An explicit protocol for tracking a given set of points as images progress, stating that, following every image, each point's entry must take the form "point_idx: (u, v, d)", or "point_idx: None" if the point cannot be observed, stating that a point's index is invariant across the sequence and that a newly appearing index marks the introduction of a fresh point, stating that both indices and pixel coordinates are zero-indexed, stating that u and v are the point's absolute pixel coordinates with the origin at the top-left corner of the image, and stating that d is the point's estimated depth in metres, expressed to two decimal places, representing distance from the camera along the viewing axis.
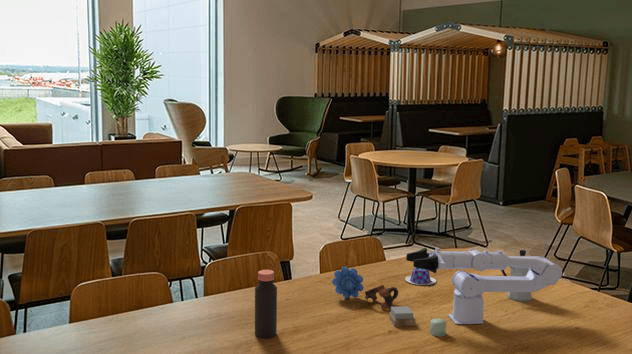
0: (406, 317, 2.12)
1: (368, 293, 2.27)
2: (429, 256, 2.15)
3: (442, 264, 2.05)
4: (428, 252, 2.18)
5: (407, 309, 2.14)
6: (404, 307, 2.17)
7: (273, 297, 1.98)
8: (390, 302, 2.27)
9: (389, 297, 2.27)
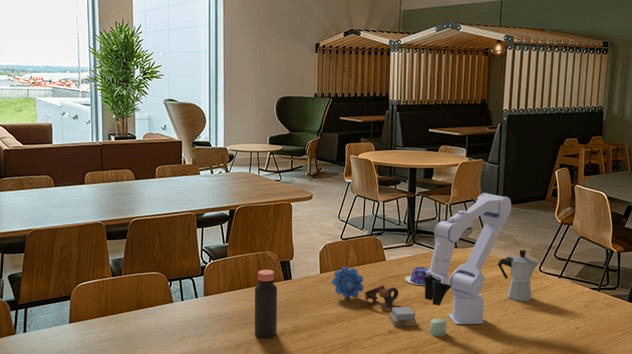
0: (408, 318, 2.11)
1: (368, 293, 2.27)
2: (432, 276, 2.08)
3: (443, 280, 1.97)
4: None
5: (408, 310, 2.14)
6: (405, 307, 2.16)
7: (273, 297, 1.98)
8: (390, 302, 2.26)
9: (389, 297, 2.26)
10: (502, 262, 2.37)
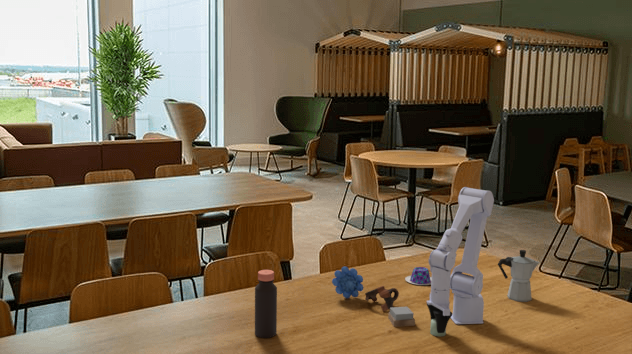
0: (406, 317, 2.11)
1: (368, 294, 2.26)
2: None
3: (445, 312, 1.97)
4: (430, 297, 2.10)
5: (406, 310, 2.14)
6: (403, 307, 2.16)
7: (273, 297, 1.98)
8: (391, 303, 2.25)
9: (390, 298, 2.25)
10: (502, 262, 2.37)
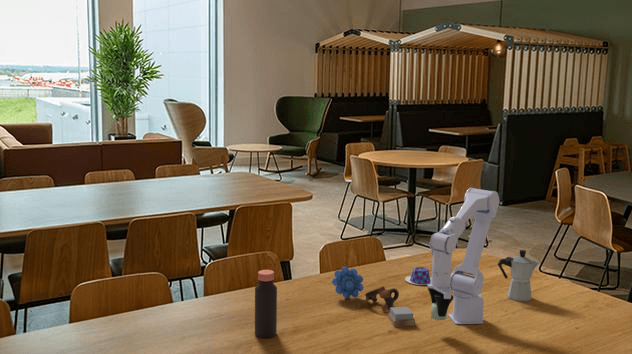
0: (406, 317, 2.12)
1: (369, 295, 2.26)
2: None
3: (446, 295, 1.96)
4: (431, 281, 2.09)
5: (406, 310, 2.14)
6: (403, 307, 2.17)
7: (273, 297, 1.98)
8: (391, 304, 2.25)
9: (390, 299, 2.25)
10: (502, 262, 2.37)
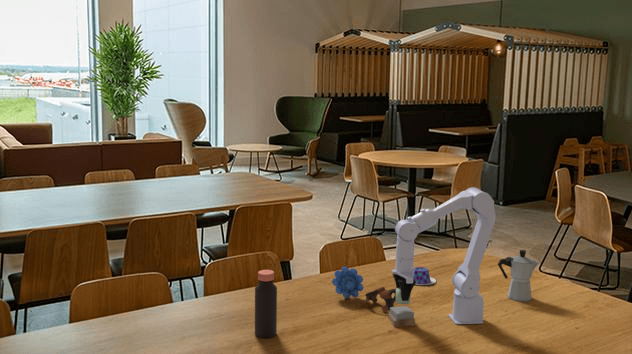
0: (407, 317, 2.12)
1: (369, 295, 2.25)
2: None
3: (408, 280, 2.05)
4: None
5: (407, 309, 2.15)
6: (403, 307, 2.17)
7: (273, 297, 1.98)
8: (391, 304, 2.25)
9: (390, 299, 2.25)
10: (502, 262, 2.37)
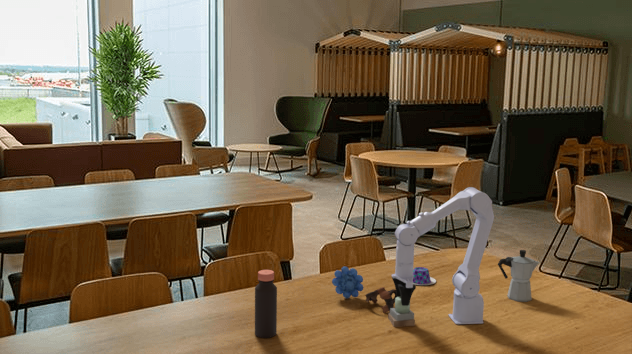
0: (407, 318, 2.11)
1: (369, 296, 2.25)
2: None
3: (408, 285, 2.05)
4: None
5: None
6: None
7: (273, 297, 1.98)
8: (391, 305, 2.24)
9: (390, 300, 2.24)
10: (502, 262, 2.37)
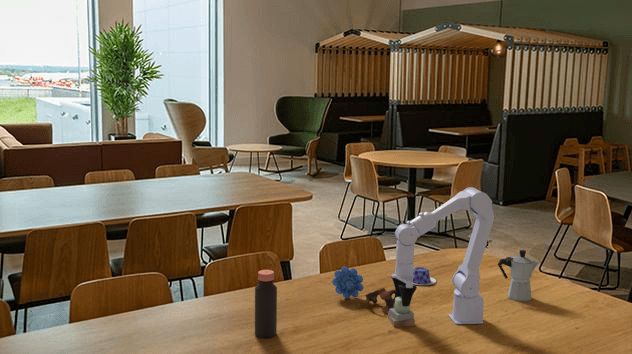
0: (407, 318, 2.11)
1: (369, 296, 2.24)
2: None
3: (408, 285, 2.05)
4: None
5: None
6: None
7: (273, 297, 1.98)
8: (391, 305, 2.24)
9: (390, 300, 2.24)
10: (502, 262, 2.37)
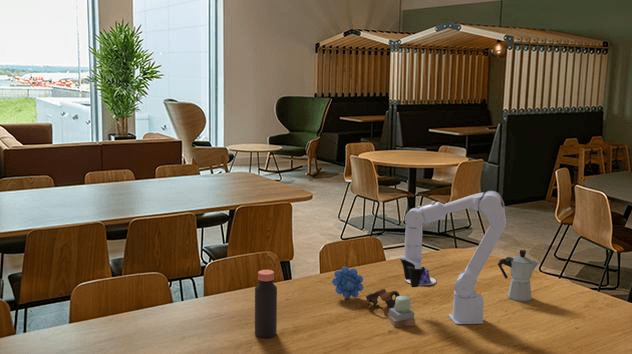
0: (408, 317, 2.11)
1: (369, 297, 2.23)
2: None
3: (416, 266, 2.13)
4: None
5: None
6: None
7: (273, 297, 1.98)
8: (392, 306, 2.23)
9: (391, 301, 2.23)
10: (502, 262, 2.37)
